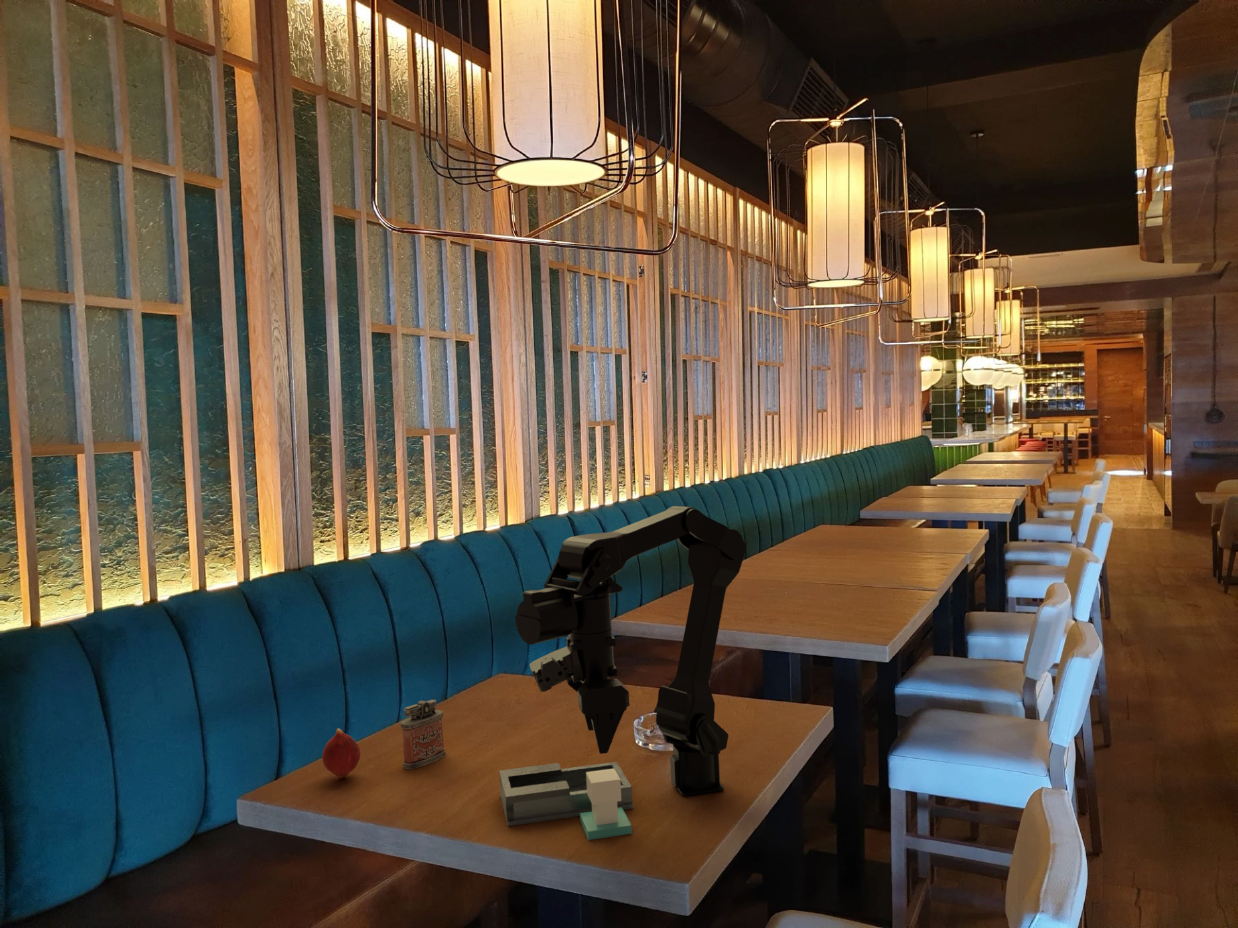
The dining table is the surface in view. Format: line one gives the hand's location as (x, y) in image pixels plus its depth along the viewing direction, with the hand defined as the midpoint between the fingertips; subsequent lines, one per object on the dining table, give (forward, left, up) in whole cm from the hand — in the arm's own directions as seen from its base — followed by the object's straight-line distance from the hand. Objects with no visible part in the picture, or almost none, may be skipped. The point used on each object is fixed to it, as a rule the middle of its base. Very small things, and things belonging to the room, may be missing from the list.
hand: (597, 740), depth 127 cm
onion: (+37, -30, -12) cm, 49 cm away
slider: (0, +1, -12) cm, 12 cm away
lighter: (+24, -33, -12) cm, 43 cm away
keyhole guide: (+4, -9, -12) cm, 16 cm away
